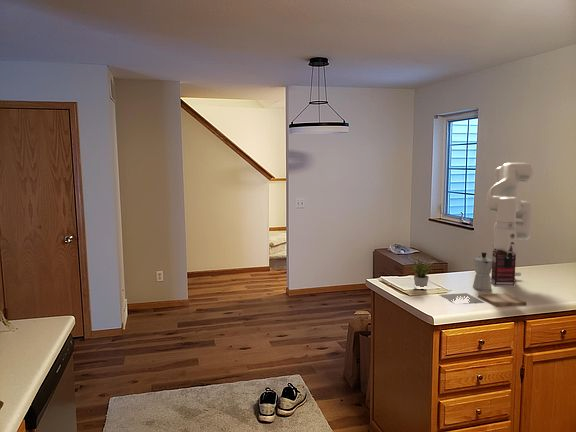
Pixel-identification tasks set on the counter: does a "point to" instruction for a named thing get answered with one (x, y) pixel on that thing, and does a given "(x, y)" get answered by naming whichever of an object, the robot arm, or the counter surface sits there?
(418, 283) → the house plant
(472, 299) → the plate
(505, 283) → the supplement box
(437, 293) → the counter surface
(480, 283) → the coffee maker
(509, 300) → the walnut board
